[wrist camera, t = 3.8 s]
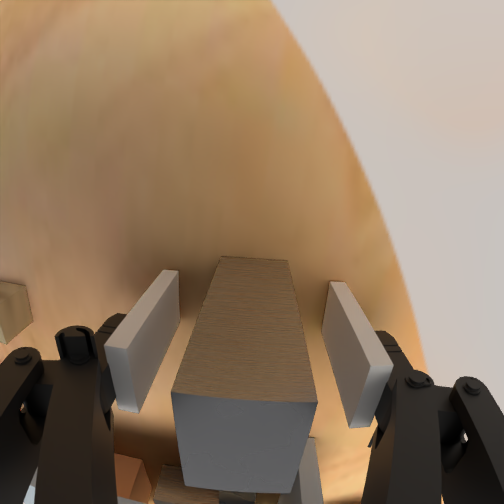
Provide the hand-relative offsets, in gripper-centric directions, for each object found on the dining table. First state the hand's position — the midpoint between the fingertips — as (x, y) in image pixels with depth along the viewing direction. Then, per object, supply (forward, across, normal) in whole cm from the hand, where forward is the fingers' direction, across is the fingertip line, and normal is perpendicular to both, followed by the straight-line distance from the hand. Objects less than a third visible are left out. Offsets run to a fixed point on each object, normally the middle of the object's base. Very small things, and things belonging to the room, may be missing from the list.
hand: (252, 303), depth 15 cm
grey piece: (0, -2, -8) cm, 8 cm away
